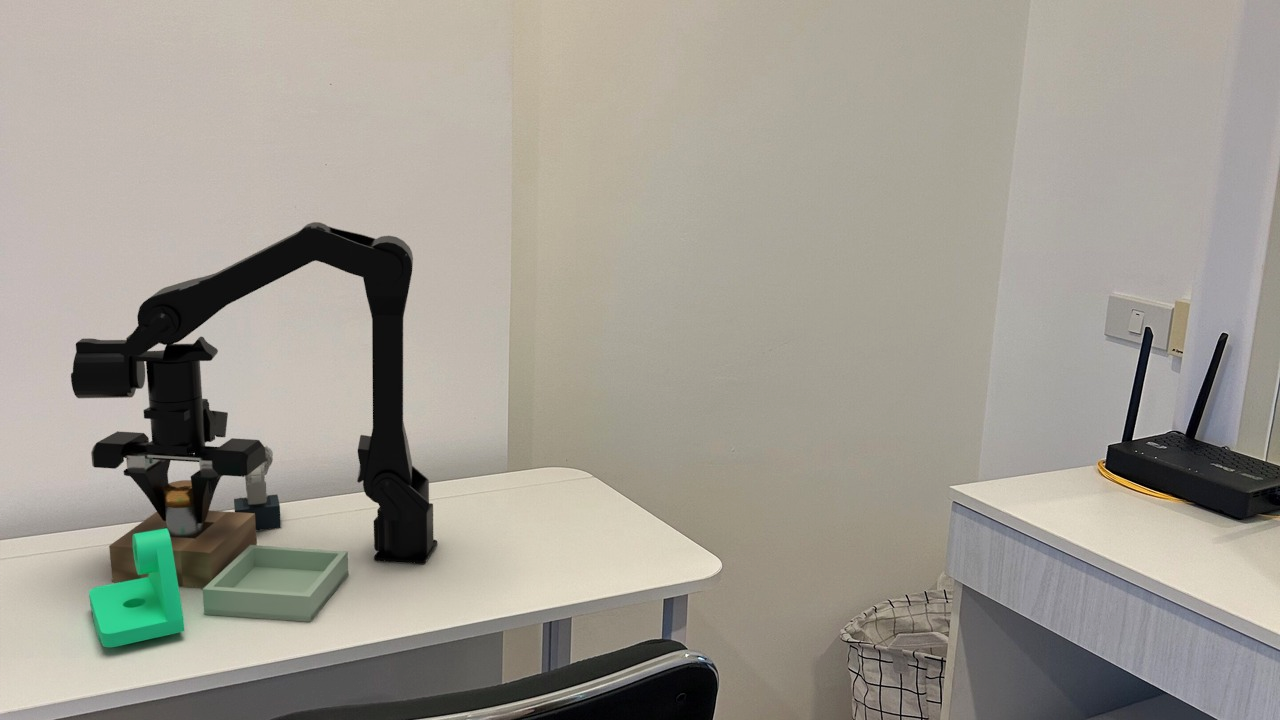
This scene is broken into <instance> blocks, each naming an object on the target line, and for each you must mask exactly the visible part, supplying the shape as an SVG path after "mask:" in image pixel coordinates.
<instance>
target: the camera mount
mask: <svg viewBox="0 0 1280 720" xmlns="http://www.w3.org/2000/svg"><path fill="white" fill-rule="evenodd" d="M132 542H133V554H134V560H135V566H136V570H137V573H138V575H141V574H146V573H148V577H145V578H140V579H135V580H130V581H125V582H113V583H111V584H110V583H109V584H105V585H100V586H95V587H93V588H91V589H90V590H89V591H88V595H89V596H88V598H89V607H90V609H91V613H92V616H93V618H92V619H93V624H94V628H95V631H96V634H97V635H96V636H97V638H98V640H99V642H101V645H102V646H103V647H104V648H116V647H121V646H125V645H129V644H135V643H138V642H142V641H148V640H152V639H156V638H161V637H165V636H166V637H167V636H169V635H174V634H179V633H183V632H185V619H184V613H183V608H182V601H181V593H180V589H179V587H180V586H178V581H177V575H176V569H175V562H174V556H173V550H172V544H171V539H170V534H169V531H168V529H167V528H165V529H160V530H154V531H148V532H142V533H136V534H133V537H132Z"/></svg>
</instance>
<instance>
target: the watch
mask: <svg viewBox="0 0 1280 720" xmlns="http://www.w3.org/2000/svg"><path fill="white" fill-rule="evenodd" d="M262 445H263V446H264V447H265V454H266V461H265V462H264V463H263V464H261V465H260V466H259V467H257V468H256V469H255V470H254V471H252V472H251V473H250V474H248V475H246V476H241V477H242V478H244V480H245V490H246V497H239V498H238V497H237V498H233V504H234V505H233V506H234V507H233V508H234V512H241V513H255V523H256V530H258V531H266V530H274V529H275V528H276V529H281V528H282V526H281V525H282V523H281V505H280V504H281V503H280V500H279V496H278V494H269V495H268V493H267V481H266V480H265V478H266V477H265V476H267V474H268V471H269V469H270V467H271V465H272V464H273V460H274V459H273V458H274V457H273V456H274V454H273V450H272V448H271V447H270V446H269V445H267V444H266V443H262Z"/></svg>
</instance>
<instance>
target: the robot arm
mask: <svg viewBox="0 0 1280 720" xmlns="http://www.w3.org/2000/svg"><path fill="white" fill-rule="evenodd" d="M313 262H320V263H323V264H324V265H325V264H326V265H328V266H331V267H333V268H335V269H338V270H340V271H342V272H345V273H348V274H351V275H353V276H358V277H361V278H362V279H363V285H364V289H365V295H366V299H367V304H368V308H369V311H370V315H371V319H372V321H371V326H372V327H371V329H372V330H371V331H372V332H371V334H372V335H371V338H372V339H371V343H372V345H371V346H372V349H371V351H372V352H371V353H372V359H371V360H372V362H371V363H372V429H371V433H370V434H371V435H365V434H361V435H359V436H360V437H359V440H358V441H359V442H358V447H357V456H358V457H357V458H358V462H359V467H358V468H359V469H358V475H357V478H356V479H357V480H356V481H357V483H361V482H362V487H363V491H364V493H365V495H366V497H367V498H369V499H370V500H371V501H372V502H374V503H377V504H378V506H379V507H378V509H377V516H376V517H375V519H374V520H373V548H374V550H375V551H377V552H376V553H375V555H374V556H373V561H374V562H383V563H384V562H386V563H399V564H413V565H415V564H417V565H423V564H426V563H427V561H428V560H429V558H430V557H431V555H432V554H433V552H434V550H435V549H436V547H437V545H438V540H436V539H434V503H430V480H429V478H428V477H426V475H424V474H423V473H422V472H421V471H420V470H418V469H417V468H416V467H415V466H414V465H413V461H412V455H411V450H410V445H409V440H408V435H407V432H406V429H405V428H406V427H405V422H404V316H405V311H406V307H407V301H408V295H409V290H410V285H411V280H412V279H411V278H412V275H413V264H414V257H413V252H412V249H411V248H410V246H409V245H408V244H407V243H406V242H405V241H404V240H403V239H402V238H399V237H397V236H392V235H383V236H382V235H381V236H380V237H377V238H375V237H371V236H369V235H365V234H361V233H357V232H352V231H347V230H344V229H339V228H335V227H331V226H328V225H327V224H324V223H323V222H319V221H318V222H317V221H313V222H311V223H307V224H306V225H304V226H303V227H302V228H301V229H300V230H298V231H296V232H295V233H293V234H290V235H289V236H286V237H284V238H283V239H280V240H278V241H277V242H274V243H273V244H271V245H268V246H266V247H265V248H263V249H260V250H259V251H257V252H255V253H252V254H251V255H249V256H247V257H245V258H243V259H241V260H239V261H237V262H235V263H233V264H231V265H229V266H227V267H225V268H223V269H222V270H219V271H217V272H215V273H211V274H209V275H204V276H202V277H197V278H192V279H190V280H189V279H188V280H186V281H181V282H178V283H176V284H172V285H169V286H166V287H163V288H161V289H160V290H158V291H157V292H155V293H154V294H153V295H151V296H150V297H148V298H147V299H146V300H145V301H143V302H142V303H141V305H140V306H139V309H138V312H137V315H136V316H137V326H136V328H135V329H134V331H133V332H132V333H130V334H129V335H128V336H127V337H126V338H125V339H97V338H81V339H79V340H78V341H77V342H76V343H75V352H76V353H75V355H74V359H73V364H72V372H71V374H70V382H71V386H72V391H73V394H74V396H75V397H76V398H77V399H115V398H116V399H118V398H123V399H124V398H125V399H126V398H127V399H128V398H133V397H134V395H135V394H136V391H137V389H138V390H139V389H143V388H144V385H145V382H146V380H147V391H148V392H147V393H148V407H147V408H145V409H143V419H149V420H150V431H151V441H150V440H149V436H147V434H145V433H144V432H134V431H133V432H131V431H116V432H114V433H112V434H110V435H108V436H106V437H104V438H102V439H101V440H99V441H97V442H96V443H95V444H94V445H93V447H92V450H91V452H90V455H91V464H92V467H93V468H98V469H113V470H114V469H115V470H116V469H118V468H119V467H120V466H121V465H122V463H124V462H125V460H126V469H124V470H123V476H126V477H130V478H131V479H132V480H133V481H134V482H135V484H136V485H137V486H138V487H139V488H140V490H141V491H142V492H143V493H144V495H145V496H146V498H147V499H148V500H149V502H150V503H151V505H152V506H153V508H154V509H155V511H156V512H158V514H159V515H160V517H161V518H162V520H163V521H166V513H165V500H164V486H165V485H167V484H169V483H170V482H169V477H168V476H169V474H168V473H169V469H170V464H171V461H178V462H191V463H193V462H194V463H198V464H199V465H198V466H199V470H197V471H196V472H194V473H193V474H192V475H190V480H191V484H192V491H193V499H194V506H195V513H196V517H197V520H198V523H203V522H204V521H205V520H206V517H207V514H208V511H209V510H210V508H211V504H212V501H213V498H214V495H215V492H216V489H217V486H218V484H219V482H220V480H221V478H222V477H223V476H224V477H225V476H227V477H229V476H230V477H242V476H246V475H248V474H250V473H251V472H252V471H254V470H255V469H256V468H257V467H259V466H260V465H261V464H263V463H264V462H265V461H266V454H265V447H264V446H263V445H262V444H263V443H262V442H261V441H260V439H249V438H230V439H229V440H227V441H226V442H225V443H222V444H221V445H220V446H211V445H206V443H211V442H212V443H213V441H215V440H216V438H226V435H227V427H228V426H227V424H228V412H226V411H218V410H211V409H210V403H209V401H208V398H203V390H202V389H203V388H202V374H201V372H202V371H201V362H205V361H206V362H211V361H212V360H213V359H214V358H215V357H216V355H218V353H219V350H218V349H217V347H215V346H214V345H212V344H210V343H209V342H207V340H206V339H205V337H204V336H199V337H198V338H197V339H196V341H195V342H193V343H179V342H180V341H182V340H183V339H185V338H186V337H187V336H189V335H190V334H191V333H193V332H194V331H195V330H197V329H198V328H200V326H202V325H203V324H205V323H206V322H207V321H208V320H210V319H211V318H212V317H214V316H215V315H216V314H217V313H219V311H221V310H223V309H224V308H225V307H226V306H228V305H230V304H232V303H233V302H235V301H238V300H240V299H242V298H244V297H245V296H247V295H249V294H252V293H253V292H255V291H257V290H259V289H261V288H264V287H265V286H267V285H270V284H271V283H273V282H275V281H277V280H279V279H281V278H283V277H285V276H287V275H289V274H291V273H293V272H295V271H297V270H299V269H300V268H303V267H304V266H307V265H308V264H311V263H313ZM159 344H162V345H164V346H165V347H164V349H162V350H151V349H153V348H154V347H156V346H157V345H159Z"/></svg>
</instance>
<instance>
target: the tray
mask: <svg viewBox="0 0 1280 720" xmlns="http://www.w3.org/2000/svg"><path fill="white" fill-rule="evenodd" d="M348 575H349V551H347V550H336V549H335V550H333V549H318V548H316V549H315V548H306V547H304V548H303V547H287V546H274V545H259V544H257V545H250V546H248V547H247V548H246V549H245V550H244V551H243V552H242V553H241V554H240V555H239V556H238V557H237V558H236V559H235V560H233V561H232V562H231V563H230V564H229V565H228V566H227V567H226V568H225V569H224V570H223V571H222V572H221V573H219V574H218V575H217V576H216V577H215V578H214V579H213V580H212V581H211V582H210V583H209V584H208V585H207V586H205V587H204V588H202V601H203V602H202V603H203V614H204V615H209V616H210V615H211V616H213V615H214V616H221V617H222V616H223V617H224V616H225V617H236V618H237V617H238V618H251V619H253V618H254V619H268V620H279V621H280V620H281V621H291V622H293V621H295V622H305V623H307V622H308V623H310V622H312V621H313V620H314V618H315V617H316V616H317V614H319V613H320V611H321V610H322V609H323V607H324V606H325V604H326V603H327V602H328V601H330V598H331V597H332V596H333V595H334V594H335V592H336V591H337V590H338V588H339V587H340V586H341V585H342V583H344V581H346V578H347V577H348Z"/></svg>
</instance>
